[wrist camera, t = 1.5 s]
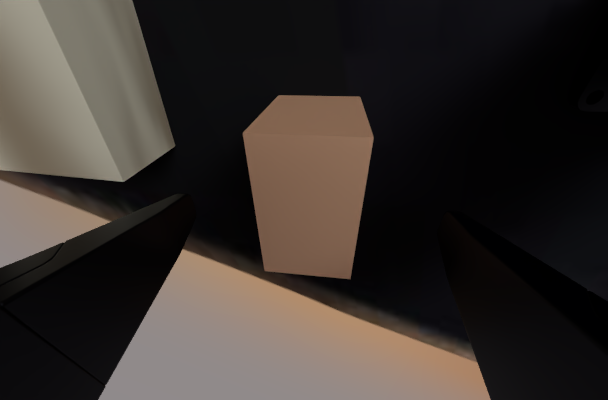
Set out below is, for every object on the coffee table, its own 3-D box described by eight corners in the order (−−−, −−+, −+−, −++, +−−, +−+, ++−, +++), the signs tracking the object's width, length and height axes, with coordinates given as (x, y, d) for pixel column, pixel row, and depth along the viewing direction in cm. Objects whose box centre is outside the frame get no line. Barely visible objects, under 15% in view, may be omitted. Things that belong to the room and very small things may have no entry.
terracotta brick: (359, 96, 10) (373, 137, 6) (347, 206, 14) (350, 279, 10) (278, 95, 11) (242, 133, 7) (285, 202, 14) (264, 271, 10)
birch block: (126, -33, 9) (6, -69, 6) (177, 144, 13) (123, 181, 10) (-38, -36, 10) (-232, -71, 6) (60, 134, 14) (-27, 167, 10)
